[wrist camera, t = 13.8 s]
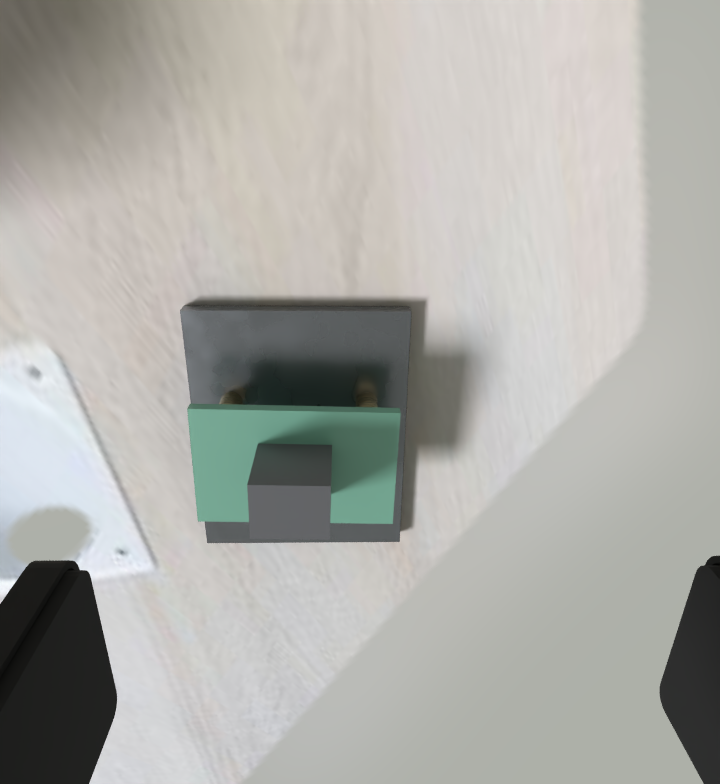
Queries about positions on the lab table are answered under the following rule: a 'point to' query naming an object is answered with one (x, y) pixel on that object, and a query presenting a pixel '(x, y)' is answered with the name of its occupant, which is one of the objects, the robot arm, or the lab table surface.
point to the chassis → (301, 375)
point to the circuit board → (295, 425)
